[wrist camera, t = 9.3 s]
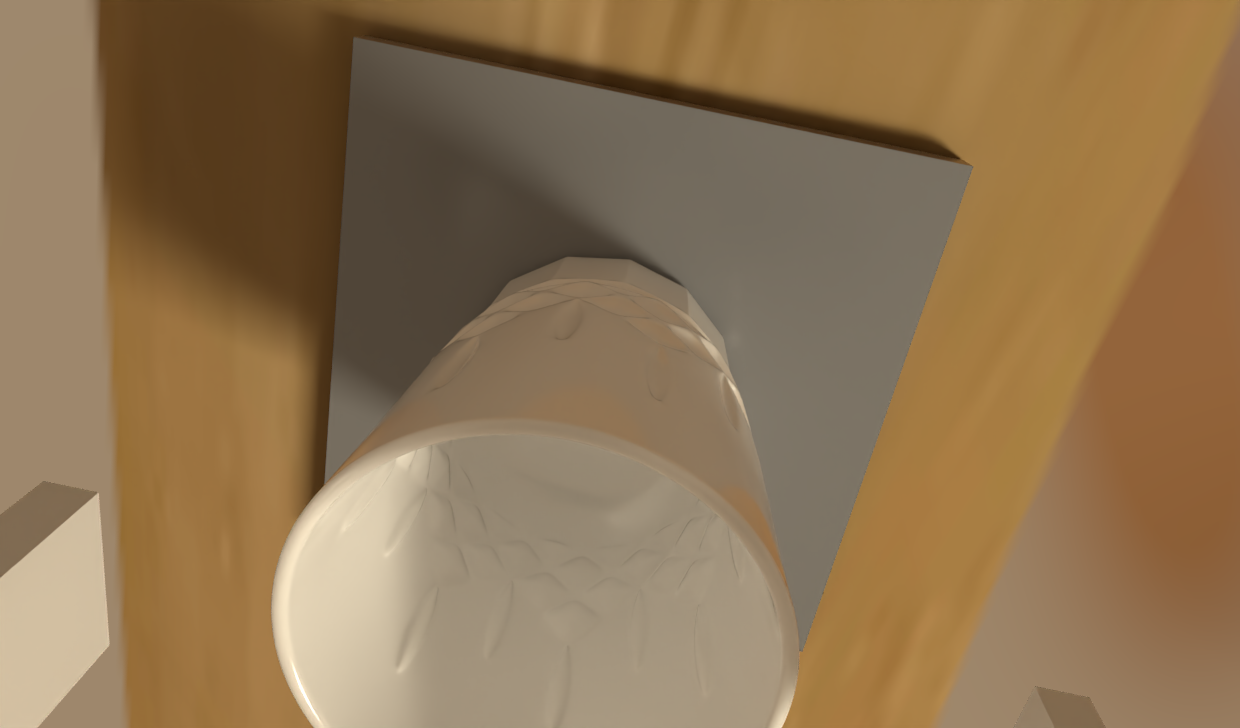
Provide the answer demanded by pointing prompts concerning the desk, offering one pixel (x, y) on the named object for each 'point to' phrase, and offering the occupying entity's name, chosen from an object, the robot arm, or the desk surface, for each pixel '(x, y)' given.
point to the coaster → (641, 252)
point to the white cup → (548, 530)
